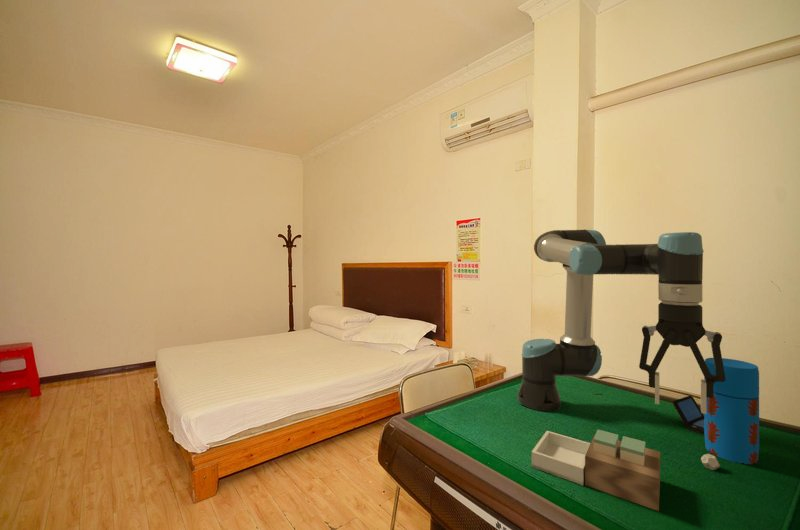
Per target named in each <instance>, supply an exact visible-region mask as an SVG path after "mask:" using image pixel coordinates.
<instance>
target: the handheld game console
mask: <svg viewBox="0 0 800 530" xmlns="http://www.w3.org/2000/svg"><path fill="white" fill-rule="evenodd" d="M672 404H673V407H674V409H675V410H676V412H677V413H678V415H679V417H680V419H681V421H682V422H683V427H684V428H685V429H688V430H691V431H693V432H697V433H699V434H702V435H704V414H703V413H701V407H699V405H698V403H697V402H696V400H695V398H694V397H693V396H692V395H688V396H684V397H682V398H678V399H675V400H673V401H672Z"/></svg>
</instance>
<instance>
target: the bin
mask: <svg viewBox="0 0 800 530" xmlns="http://www.w3.org/2000/svg"><path fill="white" fill-rule="evenodd" d="M590 443H591V442H588V441H584V440H581V439H578V438H573V437H570V436H567V435H564V434H560V433H556V432H553V431H550V430H546V431H545V433H543V435H542V436H541V438H540V439H539V440H538V442H537V443H536V445H535V446H534V448H533V449H532V450H531V468H533V469H536V470H539V471H542V472H544V473H547V474H549V473H550V475H552V476H555V477H558V478H561V479H564V480H565V481H569V482H572V483H574V484H577V485H580V486H585V455H586V452H587V450H588V448H589V446H590Z"/></svg>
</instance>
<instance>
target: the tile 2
mask: <svg viewBox="0 0 800 530" xmlns="http://www.w3.org/2000/svg"><path fill="white" fill-rule="evenodd" d="M621 441H622V442H621V446H620V459H622V460H625V461H628V462H632V463H635V464H638V465H642V466H644V462H645V448H646V441H644V440H640V439H636V438H633V437H628V436H624V435H623V436H622V439H621Z"/></svg>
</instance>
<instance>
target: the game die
mask: <svg viewBox="0 0 800 530" xmlns="http://www.w3.org/2000/svg"><path fill="white" fill-rule="evenodd" d="M700 461H701V463H702V464H703V466H704V467H705V468H706V469H709V470H711V471H714V470H715V471H716V470H717V469H718V468H720V467H721V465H720V462H719V461H718V459H717V456H716V455H714V454H711V453H706V454H703V455H702V456H701V457H700Z"/></svg>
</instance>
